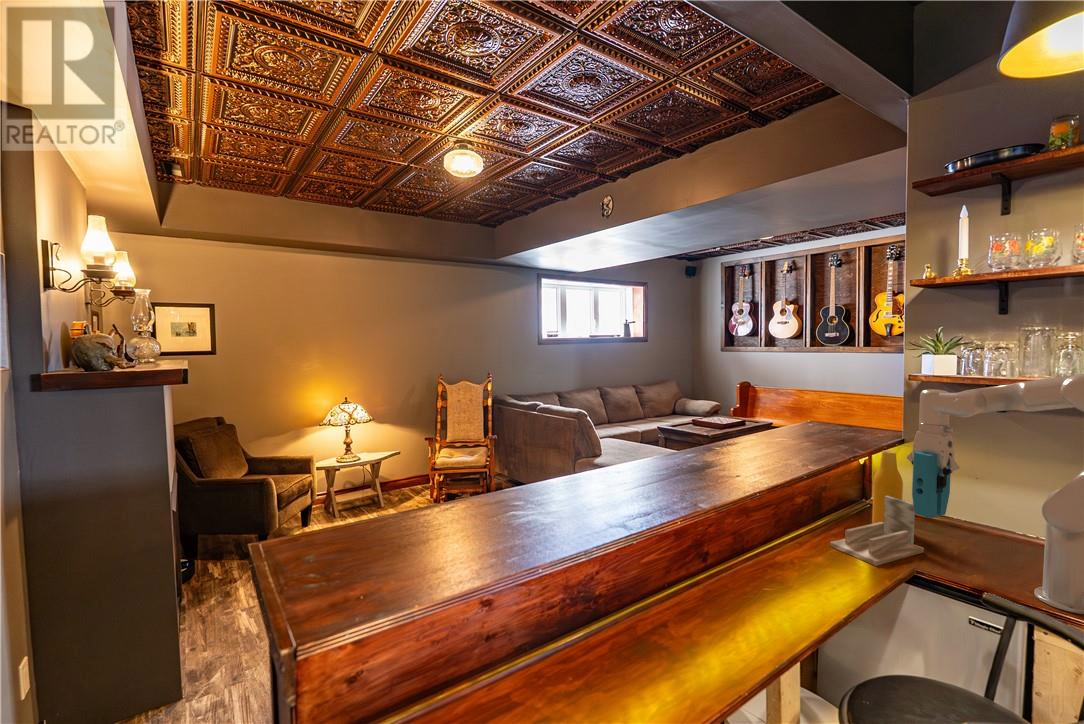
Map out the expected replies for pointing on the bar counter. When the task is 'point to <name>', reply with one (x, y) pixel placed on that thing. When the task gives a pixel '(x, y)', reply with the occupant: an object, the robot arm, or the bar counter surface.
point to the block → (928, 486)
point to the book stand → (883, 536)
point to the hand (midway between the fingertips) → (931, 484)
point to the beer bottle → (886, 484)
